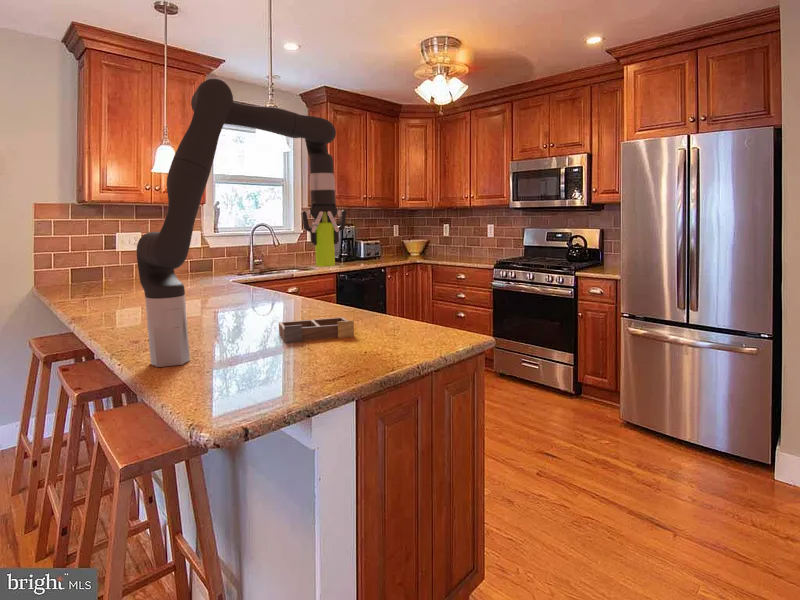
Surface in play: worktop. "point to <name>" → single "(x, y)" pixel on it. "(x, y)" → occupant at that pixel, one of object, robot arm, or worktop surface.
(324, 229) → the soap dispenser
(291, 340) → the dock
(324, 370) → the worktop surface
